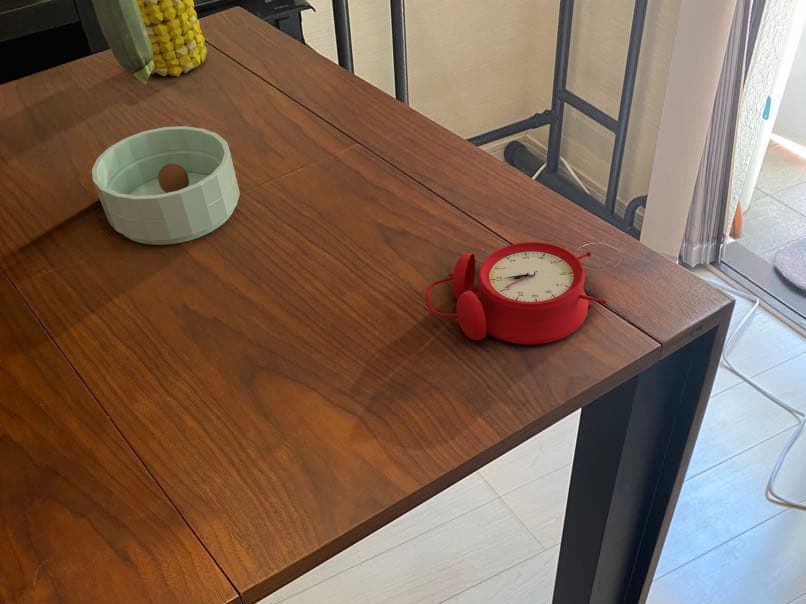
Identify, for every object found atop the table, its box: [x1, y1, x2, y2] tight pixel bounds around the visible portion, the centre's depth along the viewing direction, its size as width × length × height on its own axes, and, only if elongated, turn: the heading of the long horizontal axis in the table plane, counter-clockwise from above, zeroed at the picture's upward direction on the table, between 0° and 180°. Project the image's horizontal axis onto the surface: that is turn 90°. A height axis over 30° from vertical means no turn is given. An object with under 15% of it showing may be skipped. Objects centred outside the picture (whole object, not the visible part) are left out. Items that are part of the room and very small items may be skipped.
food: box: [136, 0, 208, 77], centre depth 107 cm, size 15×12×10 cm
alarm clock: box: [425, 241, 607, 345], centre depth 75 cm, size 10×6×15 cm
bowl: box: [91, 125, 241, 246], centre depth 89 cm, size 14×14×6 cm
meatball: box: [158, 163, 189, 193], centre depth 90 cm, size 3×3×3 cm
